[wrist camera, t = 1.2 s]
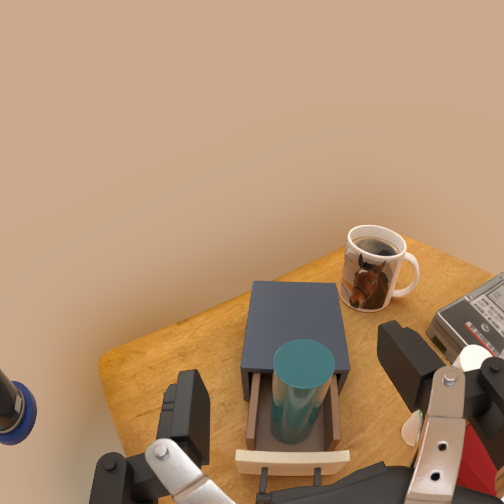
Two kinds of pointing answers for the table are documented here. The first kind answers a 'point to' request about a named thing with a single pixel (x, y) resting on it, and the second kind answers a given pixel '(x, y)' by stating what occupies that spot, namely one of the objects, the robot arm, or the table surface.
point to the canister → (299, 388)
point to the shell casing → (476, 465)
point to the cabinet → (292, 325)
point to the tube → (465, 361)
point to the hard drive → (472, 321)
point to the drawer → (290, 455)
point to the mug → (373, 268)
